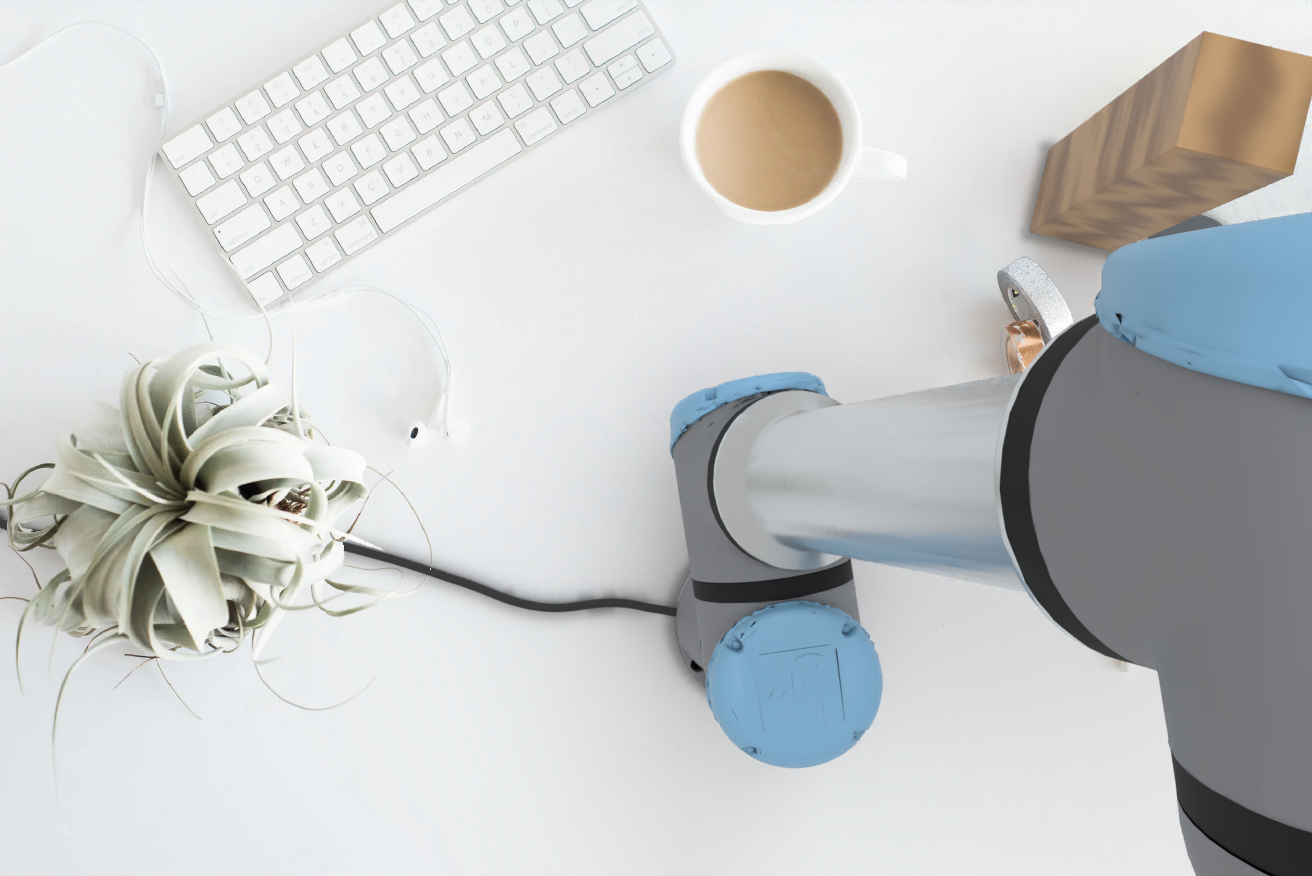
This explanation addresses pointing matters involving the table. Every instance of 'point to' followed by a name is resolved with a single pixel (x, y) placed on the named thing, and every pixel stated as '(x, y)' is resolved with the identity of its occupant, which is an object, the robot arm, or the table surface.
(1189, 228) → the coaster
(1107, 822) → the table surface
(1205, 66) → the block
